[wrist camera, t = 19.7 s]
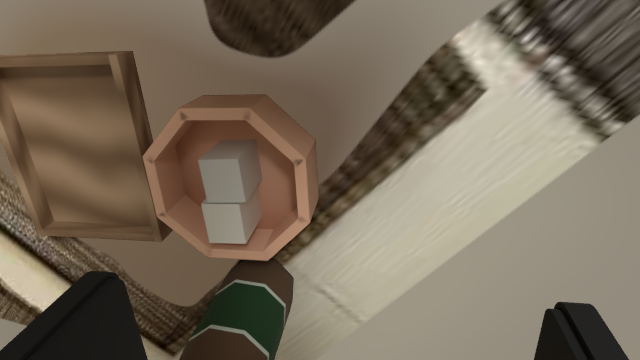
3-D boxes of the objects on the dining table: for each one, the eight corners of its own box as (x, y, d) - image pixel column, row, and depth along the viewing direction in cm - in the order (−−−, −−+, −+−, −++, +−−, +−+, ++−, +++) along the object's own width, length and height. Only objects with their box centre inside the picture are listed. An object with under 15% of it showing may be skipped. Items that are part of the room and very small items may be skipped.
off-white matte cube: (220, 140, 38) (198, 159, 34) (256, 139, 37) (237, 158, 33) (228, 179, 40) (207, 202, 35) (262, 178, 39) (245, 202, 35)
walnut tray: (-7, 55, 39) (-31, 59, 37) (132, 51, 37) (116, 54, 34) (54, 224, 47) (38, 235, 45) (173, 229, 44) (162, 241, 42)
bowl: (160, 95, 38) (130, 108, 34) (312, 93, 36) (302, 107, 31) (188, 229, 44) (166, 254, 40) (320, 235, 42) (312, 263, 37)
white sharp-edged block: (222, 180, 40) (200, 204, 35) (256, 180, 39) (238, 204, 35) (229, 216, 41) (209, 242, 37) (261, 216, 41) (246, 243, 36)
